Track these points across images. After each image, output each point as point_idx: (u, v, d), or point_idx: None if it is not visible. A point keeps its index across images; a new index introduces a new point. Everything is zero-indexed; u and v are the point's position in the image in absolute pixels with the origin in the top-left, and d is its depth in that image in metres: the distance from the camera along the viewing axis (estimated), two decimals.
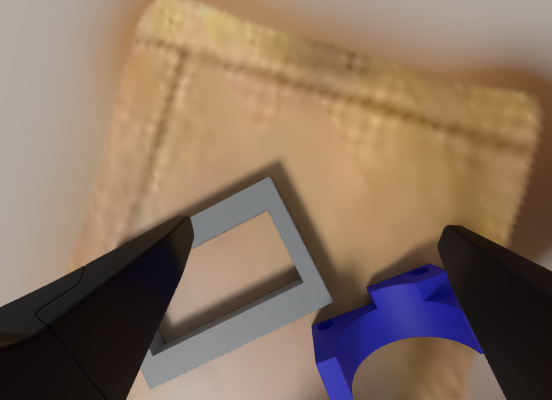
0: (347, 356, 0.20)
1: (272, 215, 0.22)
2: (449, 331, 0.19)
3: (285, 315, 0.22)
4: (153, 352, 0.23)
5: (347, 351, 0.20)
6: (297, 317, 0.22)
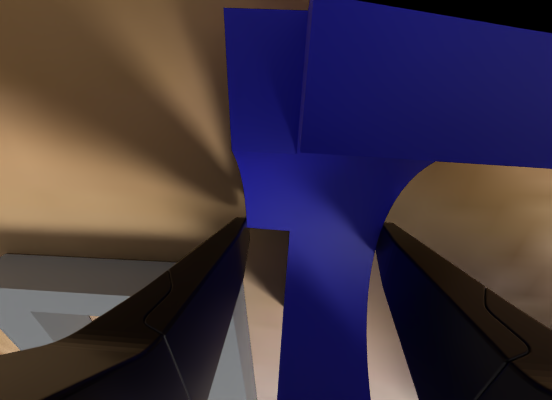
0: (326, 362, 0.09)
1: (41, 309, 0.12)
2: None
3: (224, 358, 0.12)
4: None
5: (319, 352, 0.09)
6: (235, 349, 0.12)
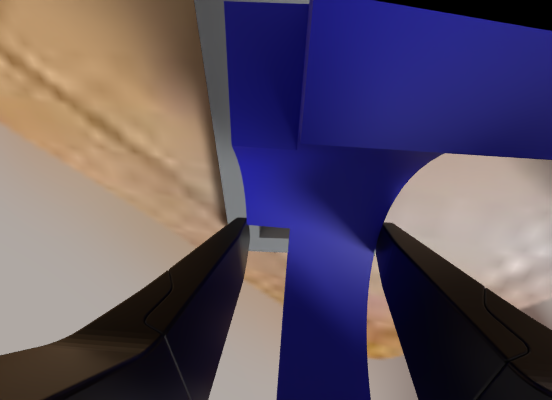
0: (326, 360, 0.09)
1: None
2: None
3: None
4: None
5: (318, 350, 0.09)
6: None
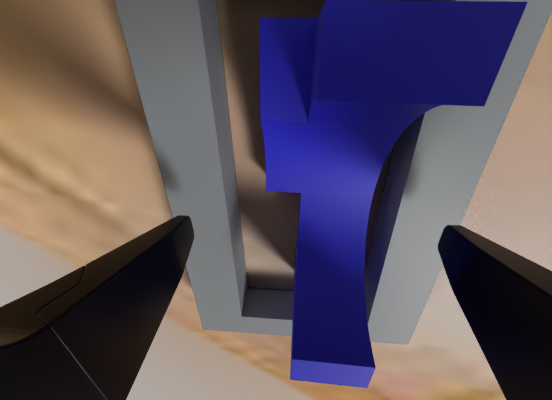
0: (332, 298, 0.11)
1: None
2: (398, 111, 0.07)
3: (497, 75, 0.08)
4: None
5: (326, 291, 0.11)
6: (533, 41, 0.07)
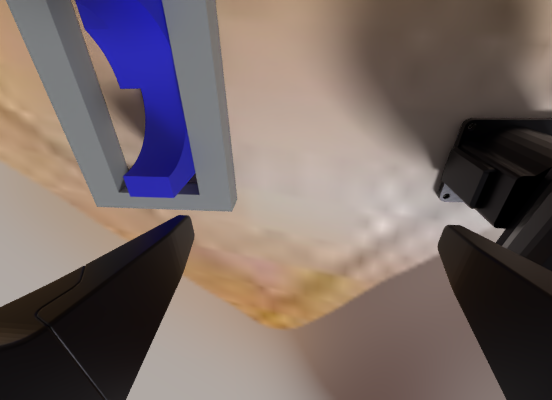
0: (162, 153, 0.18)
1: None
2: (135, 12, 0.13)
3: (193, 4, 0.14)
4: (198, 193, 0.21)
5: (159, 150, 0.18)
6: None
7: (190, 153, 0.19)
